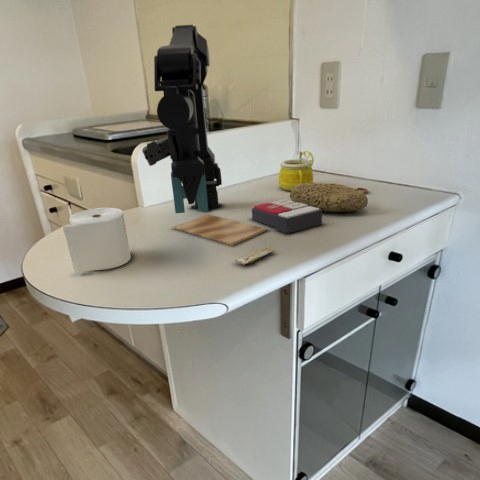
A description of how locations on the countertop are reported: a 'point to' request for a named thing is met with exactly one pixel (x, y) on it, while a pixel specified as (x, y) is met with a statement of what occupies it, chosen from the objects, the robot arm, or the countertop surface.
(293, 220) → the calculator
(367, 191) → the key
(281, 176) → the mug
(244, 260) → the snack bar
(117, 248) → the toilet tissue
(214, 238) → the wooden board
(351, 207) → the sponge
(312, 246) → the countertop surface
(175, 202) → the letter H
